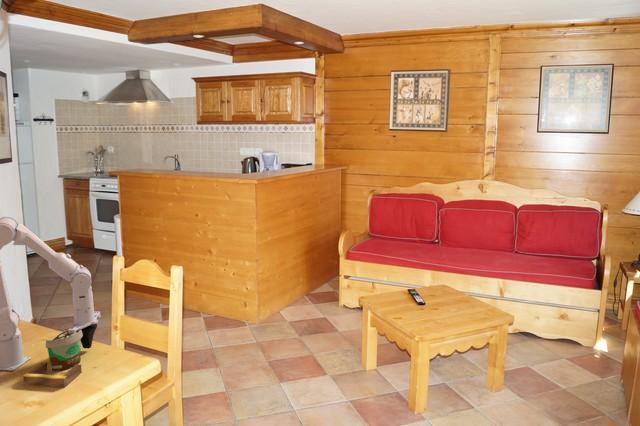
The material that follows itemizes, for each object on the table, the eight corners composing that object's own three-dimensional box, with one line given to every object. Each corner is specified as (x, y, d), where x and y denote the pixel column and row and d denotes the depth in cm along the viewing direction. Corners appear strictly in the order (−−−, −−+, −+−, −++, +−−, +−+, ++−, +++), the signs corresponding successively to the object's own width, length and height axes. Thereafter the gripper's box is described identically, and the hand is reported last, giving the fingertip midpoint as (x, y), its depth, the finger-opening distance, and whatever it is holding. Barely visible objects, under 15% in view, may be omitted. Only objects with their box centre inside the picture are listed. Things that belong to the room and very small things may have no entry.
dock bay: (24, 384, 140) (22, 375, 139) (43, 370, 148) (42, 361, 147) (64, 387, 138) (63, 378, 138) (81, 372, 146) (80, 363, 146)
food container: (67, 375, 145) (63, 342, 143) (48, 373, 146) (44, 341, 144) (93, 355, 157) (91, 325, 155) (75, 353, 158) (73, 323, 156)
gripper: (82, 316, 149) (86, 359, 152) (107, 299, 163) (111, 338, 166) (60, 315, 150) (64, 357, 153) (87, 298, 164) (90, 337, 167)
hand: (87, 347), depth 159 cm, fingers closed
